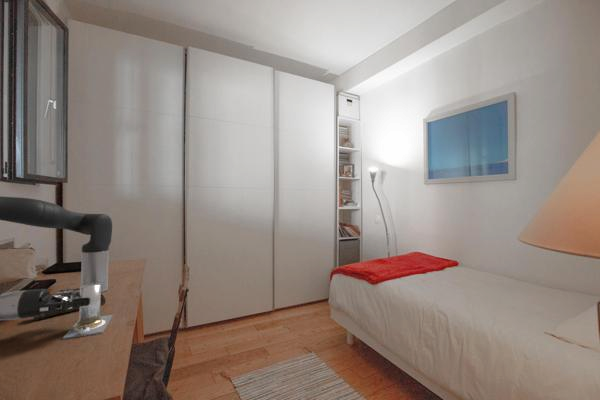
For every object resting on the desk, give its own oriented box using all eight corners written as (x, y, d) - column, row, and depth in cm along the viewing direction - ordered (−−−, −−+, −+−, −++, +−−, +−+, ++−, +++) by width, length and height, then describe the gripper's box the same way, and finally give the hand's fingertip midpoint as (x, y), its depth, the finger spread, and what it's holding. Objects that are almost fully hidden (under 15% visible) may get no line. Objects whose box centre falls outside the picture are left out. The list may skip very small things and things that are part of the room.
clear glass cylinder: (80, 322, 82) (81, 283, 82) (104, 319, 84) (105, 281, 85) (73, 331, 76) (74, 289, 77) (98, 327, 79) (99, 286, 79)
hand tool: (33, 323, 83) (34, 308, 83) (32, 319, 86) (33, 305, 86) (106, 306, 97) (107, 294, 97) (104, 303, 100) (104, 291, 100)
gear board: (78, 320, 84) (79, 312, 85) (112, 315, 88) (112, 308, 88) (62, 339, 73) (62, 330, 73) (102, 333, 76) (102, 324, 76)
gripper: (8, 299, 68) (87, 291, 75) (36, 284, 81) (100, 278, 88) (7, 328, 68) (86, 317, 74) (35, 308, 81) (100, 301, 87)
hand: (94, 296), depth 81 cm, fingers open, 8 cm apart
